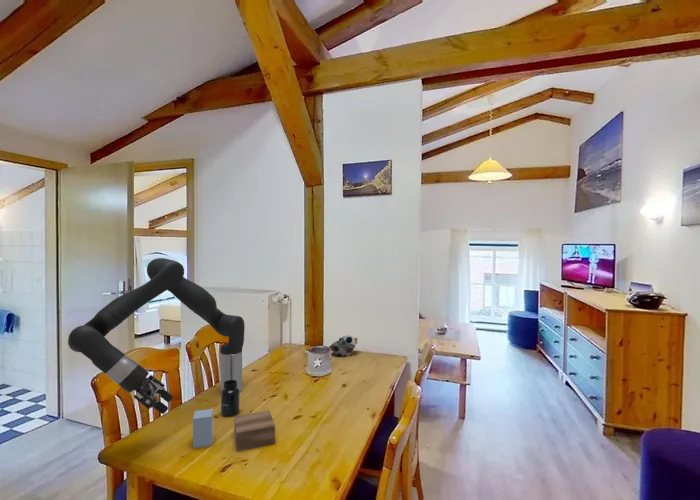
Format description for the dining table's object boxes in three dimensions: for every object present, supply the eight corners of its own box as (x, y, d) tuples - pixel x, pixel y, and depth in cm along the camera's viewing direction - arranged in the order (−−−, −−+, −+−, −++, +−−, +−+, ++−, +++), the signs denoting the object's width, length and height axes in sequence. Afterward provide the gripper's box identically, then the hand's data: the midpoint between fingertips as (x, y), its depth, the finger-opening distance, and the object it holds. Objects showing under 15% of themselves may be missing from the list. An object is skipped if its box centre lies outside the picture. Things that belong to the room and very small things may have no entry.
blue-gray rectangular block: (195, 439, 121) (195, 411, 121) (213, 436, 123) (213, 408, 122) (193, 448, 116) (193, 418, 115) (211, 445, 117) (211, 416, 117)
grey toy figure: (341, 349, 223) (352, 329, 222) (353, 361, 215) (364, 341, 214) (324, 347, 213) (336, 326, 211) (336, 359, 204) (348, 338, 203)
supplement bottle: (220, 418, 135) (220, 386, 135) (221, 410, 142) (221, 379, 142) (239, 415, 137) (239, 384, 137) (239, 407, 144) (239, 377, 144)
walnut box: (234, 433, 125) (234, 416, 125) (269, 427, 130) (269, 410, 130) (236, 452, 114) (236, 433, 114) (274, 444, 118) (274, 426, 118)
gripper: (130, 371, 106) (173, 405, 110) (142, 357, 120) (181, 387, 123) (109, 392, 105) (154, 425, 108) (124, 374, 118) (164, 405, 122)
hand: (168, 405), depth 116 cm, fingers open, 8 cm apart
